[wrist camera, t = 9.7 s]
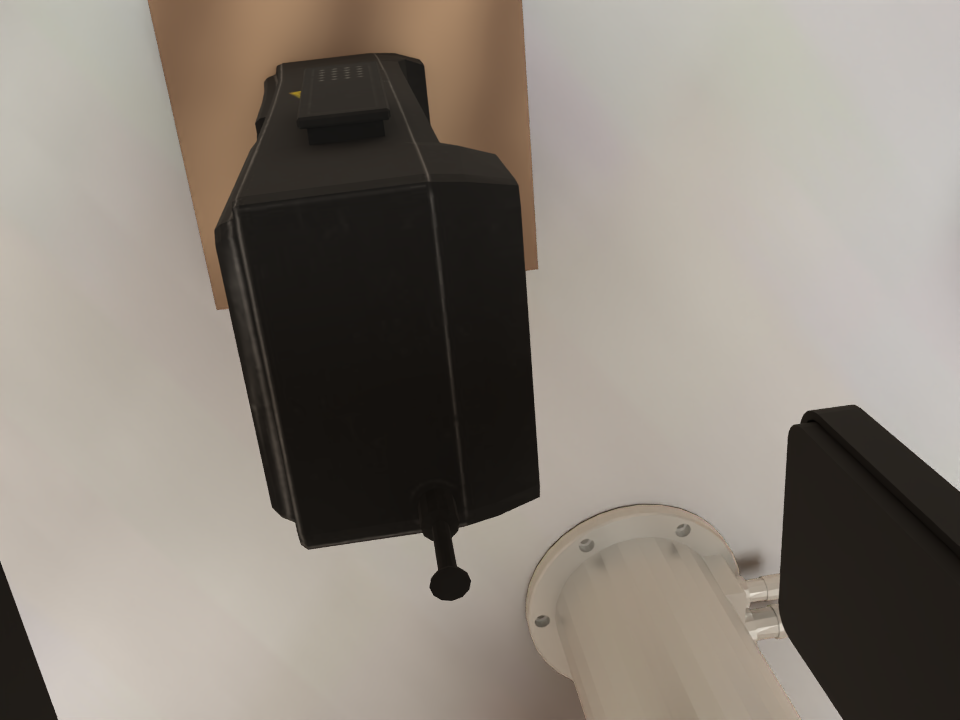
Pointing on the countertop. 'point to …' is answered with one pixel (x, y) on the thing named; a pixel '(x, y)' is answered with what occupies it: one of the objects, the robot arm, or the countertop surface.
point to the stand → (333, 33)
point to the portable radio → (379, 312)
